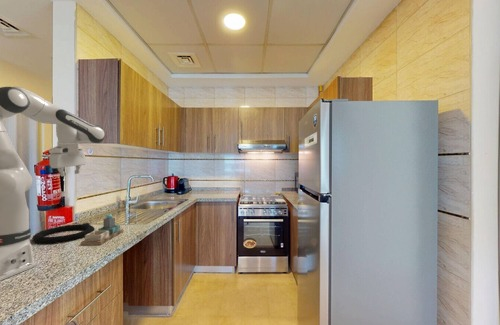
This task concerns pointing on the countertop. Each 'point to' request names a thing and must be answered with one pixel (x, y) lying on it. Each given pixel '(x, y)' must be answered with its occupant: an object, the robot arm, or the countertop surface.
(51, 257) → the countertop surface
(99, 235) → the brown divided tray
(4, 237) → the robot arm
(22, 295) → the countertop surface
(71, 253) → the countertop surface
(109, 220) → the knob
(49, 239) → the cable lock
